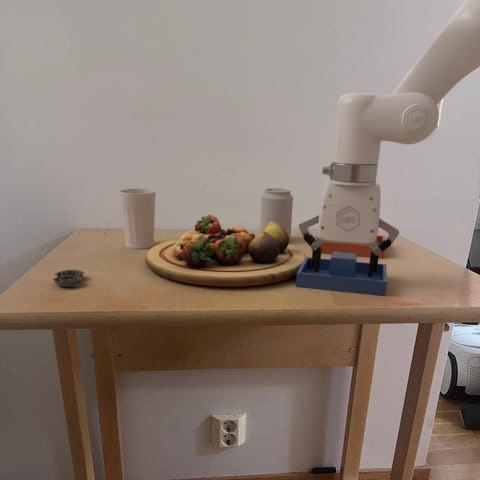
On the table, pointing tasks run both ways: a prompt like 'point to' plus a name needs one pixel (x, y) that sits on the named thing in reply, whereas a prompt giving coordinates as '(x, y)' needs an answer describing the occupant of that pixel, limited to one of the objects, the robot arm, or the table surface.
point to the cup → (138, 217)
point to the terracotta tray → (350, 248)
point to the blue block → (343, 264)
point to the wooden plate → (226, 256)
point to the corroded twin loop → (68, 277)
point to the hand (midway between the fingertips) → (343, 272)
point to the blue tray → (342, 278)
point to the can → (276, 208)
